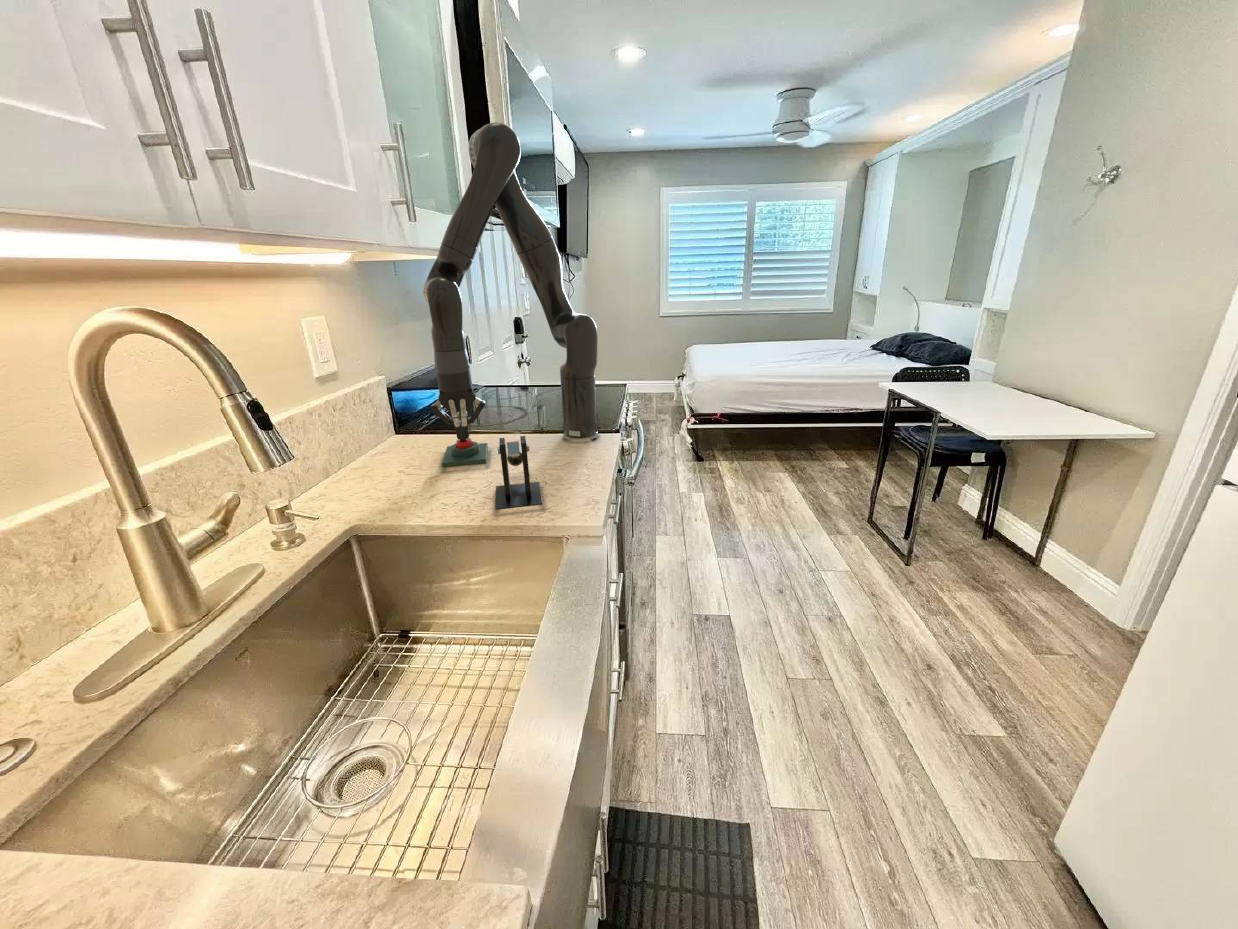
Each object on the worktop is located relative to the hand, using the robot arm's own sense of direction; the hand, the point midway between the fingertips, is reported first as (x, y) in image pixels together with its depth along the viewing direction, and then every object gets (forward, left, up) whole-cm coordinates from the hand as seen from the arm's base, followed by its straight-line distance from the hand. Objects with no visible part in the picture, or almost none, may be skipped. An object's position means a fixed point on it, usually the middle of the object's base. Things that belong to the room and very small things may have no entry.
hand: (463, 440), depth 119 cm
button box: (0, 0, -5) cm, 5 cm away
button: (0, 0, -2) cm, 2 cm away
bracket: (+26, +12, -5) cm, 29 cm away
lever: (+22, +12, +1) cm, 25 cm away
